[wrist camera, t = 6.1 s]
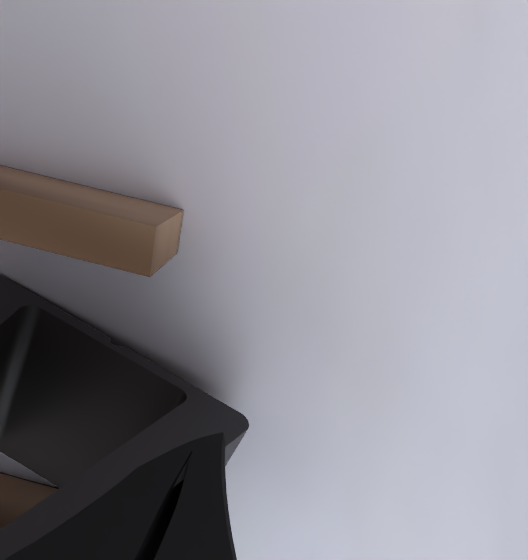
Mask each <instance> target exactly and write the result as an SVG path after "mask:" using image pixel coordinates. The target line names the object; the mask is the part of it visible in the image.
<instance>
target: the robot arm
mask: <svg viewBox="0 0 528 560" xmlns="http://www.w3.org/2000/svg"><path fill="white" fill-rule="evenodd" d="M225 445H226V442H225V437H224V432H221V433H216V434H212V435H208V436H205V437H201V438H198V439H195V440H192V441H190V442H187V443H185V444H183V445H181V446H178V447H176V448H174V449H172V450H170V451H168V452H166V453H164V454H162V455H160V456H158V457H156V458H154V459H152V460H150V461H149V462H147V463H145V464H143V465H141V466H139V467H137V468H136V469H135V470H134V471H132V472H131V473H130V474H129V475H128V476H126V477H125V478H124V479H123V480H122V481H120V482H119V483H118V484H117V485H116V486H114V487H113V488H112V489H110V490H109V491H108V492H107V493H105V494H104V495H103V496H101V497H100V498H98V499H97V500H96V501H94V502H93V503H91V504H90V505H88V506H87V507H86V508H84V509H83V510H81V511H80V512H79V513H77V514H76V515H74V516H73V517H71V518H70V519H68V520H67V521H66V522H64V523H63V524H61V525H60V526H58V527H57V528H55V529H54V530H52V531H51V532H49V533H48V534H46V535H44V536H43V537H41V538H40V539H38V540H36V541H35V542H33V543H31V544H30V545H28V546H26V547H25V548H23V549H21V550H19V551H18V552H16V553H14V554H12V555H11V556H9V557H7V558H6V559H4V560H237V558H236V553H235V548H234V543H233V538H232V532H231V526H230V519H229V512H228V504H227V494H226V479H225ZM190 455H191V457H190ZM189 457H190V460H189V464H188V467H187V471H186V475H185V478H184V482H183V486H182V489H181V493H180V496H179V499H178V500H177V497H176V494H175V492H174V489H173V487H174V485H175V483H176V481H177V479H178V477H179V475H180V474H181V472H182V470H183V468H184V466H185V464H186V462H187V460H188V459H189Z"/></svg>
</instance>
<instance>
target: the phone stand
mask: <svg viewBox="0 0 528 560" xmlns="http://www.w3.org/2000/svg"><path fill="white" fill-rule="evenodd" d="M110 341H111V338H109V337H108V336H106V335H104V334H103V333H101V332H99V331H97V330H96V329H94V328H92V327H90V326H89V325H87V324H85V323H83V322H82V321H80V320H78V319H77V318H75V317H73V316H71V315H70V314H68V313H66V312H64V311H63V310H61V309H59V308H57V307H56V306H54V305H52V304H51V303H49V302H47V301H45V300H44V299H42V298H40V297H38V296H37V295H35V294H33V293H31V292H30V291H28V290H26V289H25V288H23V287H21V286H19V285H18V284H16V283H14V282H12V281H11V280H9V279H7V278H5V277H4V276H2V275H0V451H1V452H2V453H4V454H5V455H7V456H9V457H10V458H12V459H14V460H15V461H17V462H19V463H20V464H22V465H24V466H25V467H27V468H29V469H30V470H32V471H34V472H35V473H37V474H39V475H40V476H42V477H43V478H45V479H47V480H48V481H50V482H52V483H53V484H55V485H57V486H58V487H60V488H59V489H58V490H56V491H55V492H54V493H52V494H51V495H49V496H48V497H46V498H45V499H43V500H42V501H41V502H39V503H38V504H36V505H35V506H33V507H32V508H30V509H29V510H28V511H26V512H25V513H23V514H22V515H20V516H19V517H17V518H16V519H15V520H13V521H12V522H10V523H9V524H7V525H6V526H4V527H3V528H2V529H0V560H4V559H6V558H7V557H9V556H11V555H12V554H14V553H16V552H18V551H19V550H21V549H23V548H25V547H26V546H28V545H30V544H31V543H33V542H35V541H36V540H38V539H40V538H41V537H43V536H44V535H46V534H48V533H49V532H51V531H52V530H54V529H55V528H57V527H58V526H60V525H61V524H63V523H64V522H66V521H67V520H68V519H70V518H71V517H73V516H74V515H76V514H77V513H79V512H80V511H81V510H83V509H84V508H86V507H87V506H88V505H90V504H91V503H93V502H94V501H96V500H97V499H98V498H100V497H101V496H103V495H104V494H105V493H107V492H108V491H109V490H110V489H112V488H113V487H114V486H116V485H117V484H118V483H119V482H120V481H122V480H123V479H124V478H125V477H126V476H128V475H129V474H130V473H131V472H132V471H134V470H135V469H136V468H137V467H139V466H141V465H143V464H145V463H147V462H149V461H150V460H152V459H154V458H156V457H158V456H160V455H162V454H164V453H166V452H168V451H170V450H172V449H174V448H176V447H178V446H181V445H183V444H185V443H187V442H190V441H192V440H195V439H198V438H201V437H205V436H208V435H212V434H216V433H221V432H224V437H225V442H226V445H225V466H226V464H227V463H228V461H229V459H230V458H231V456H232V454H233V453H234V451H235V449H236V448H237V446H238V444H239V443H240V441H241V439H242V438H243V436H244V434H245V433H246V431H247V429H248V427H249V423H248V420H247V419H246V417H245V416H244V415H243V414H241V413H239V412H238V411H236V410H234V409H233V408H231V407H229V406H227V405H226V404H224V403H222V402H220V401H219V400H217V399H215V398H213V397H212V396H210V395H208V394H207V393H205V392H203V391H201V390H200V389H198V388H196V387H194V386H193V385H191V384H189V383H187V382H186V381H184V380H182V379H181V378H179V377H177V376H175V375H174V374H172V373H170V372H168V371H167V370H165V369H163V368H161V367H160V366H158V365H156V364H155V363H153V362H151V361H149V360H148V359H146V358H144V357H142V356H141V355H139V354H137V353H135V352H134V351H132V350H130V349H129V348H127V347H125V346H123V345H121V346H115V345H113V344H112V343H111V342H110ZM190 457H191V455H190ZM190 457H189V459H188V460H187V462H186V464H185V466H184V468H183V470H182V472H181V474H180V475H179V477H178V479H177V481H176V483H175V485H174V487H173V489H174V492H175V494H176V497H177V500H178V499H179V496H180V493H181V489H182V486H183V482H184V478H185V475H186V471H187V467H188V464H189V460H190Z"/></svg>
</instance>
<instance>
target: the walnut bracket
mask: <svg viewBox="0 0 528 560" xmlns="http://www.w3.org/2000/svg"><path fill="white" fill-rule="evenodd" d="M183 211H184V210H181V209H177V208H173V207H169V206H164V205H160V204H156V203H152V202H148V201H144V200H140V199H136V198H132V197H128V196H124V195H119V194H115V193H111V192H107V191H103V190H99V189H95V188H91V187H87V186H83V185H79V184H74V183H70V182H66V181H62V180H58V179H54V178H50V177H46V176H42V175H38V174H33V173H29V172H25V171H21V170H17V169H13V168H9V167H5V166H1V165H0V239H1V240H5V241H9V242H13V243H16V244H20V245H24V246H28V247H32V248H36V249H40V250H44V251H48V252H52V253H56V254H60V255H64V256H68V257H72V258H76V259H80V260H84V261H88V262H92V263H96V264H100V265H104V266H108V267H112V268H116V269H120V270H124V271H128V272H132V273H136V274H140V275H144V276H148V277H150V276H152V275H153V274H154V273H155V272H156V271H157V270H158V269H159V268H161V267H162V266H163V265H164V264H165V263H166V262H167V261H169V260H170V259H171V258H172V257H173V256H174V255H175V254H176V253H177V252H178V245H179V239H180V232H181V225H182V218H183ZM56 490H58V489H56V488H52V487H49V486H45V485H42V484H38V483H34V482H31V481H27V480H23V479H20V478H16V477H12V476H9V475H5V474H2V473H0V529H2V528H3V527H4V526H6V525H7V524H9V523H10V522H12V521H13V520H15V519H16V518H17V517H19V516H20V515H22V514H23V513H25V512H26V511H28V510H29V509H30V508H32V507H33V506H35V505H36V504H38V503H39V502H41V501H42V500H43V499H45V498H46V497H48V496H49V495H51V494H52V493H54V492H55V491H56Z"/></svg>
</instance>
